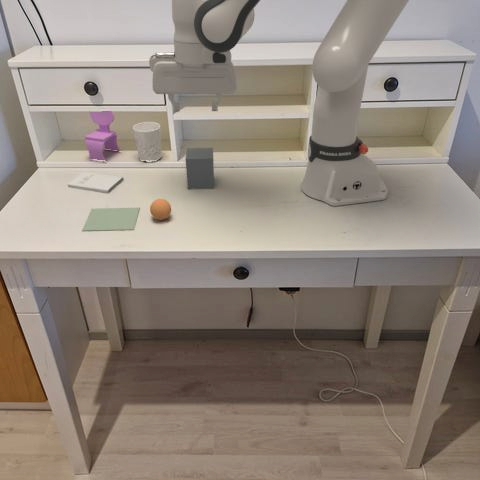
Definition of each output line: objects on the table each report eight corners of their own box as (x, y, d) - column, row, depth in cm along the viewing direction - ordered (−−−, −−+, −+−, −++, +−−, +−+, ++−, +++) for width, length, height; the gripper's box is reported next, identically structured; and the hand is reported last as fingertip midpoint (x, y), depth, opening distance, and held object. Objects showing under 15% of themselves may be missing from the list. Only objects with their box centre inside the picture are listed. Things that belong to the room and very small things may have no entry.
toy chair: (85, 160, 141) (75, 111, 133) (102, 149, 148) (93, 102, 140) (109, 164, 139) (100, 115, 130) (124, 152, 146) (117, 105, 137)
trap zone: (139, 208, 117) (139, 207, 117) (133, 230, 109) (133, 229, 109) (91, 209, 117) (91, 208, 117) (82, 231, 109) (81, 230, 109)
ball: (172, 212, 116) (171, 194, 113) (171, 223, 112) (169, 205, 109) (152, 213, 116) (150, 195, 113) (150, 223, 111) (147, 205, 109)
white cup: (158, 164, 138) (154, 132, 133) (133, 162, 140) (128, 130, 134) (167, 153, 145) (163, 122, 139) (143, 151, 146) (138, 121, 140)
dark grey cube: (214, 176, 132) (212, 147, 127) (213, 188, 126) (212, 158, 121) (189, 177, 131) (187, 148, 126) (187, 189, 126) (185, 159, 121)
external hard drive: (108, 195, 124) (68, 188, 127) (124, 181, 131) (85, 175, 134) (107, 190, 123) (67, 183, 126) (123, 176, 130) (84, 170, 133)
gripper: (147, 56, 106) (152, 115, 114) (237, 56, 107) (236, 114, 115) (149, 49, 111) (154, 106, 119) (235, 49, 112) (235, 106, 120)
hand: (195, 110), depth 117 cm, fingers open, 8 cm apart
